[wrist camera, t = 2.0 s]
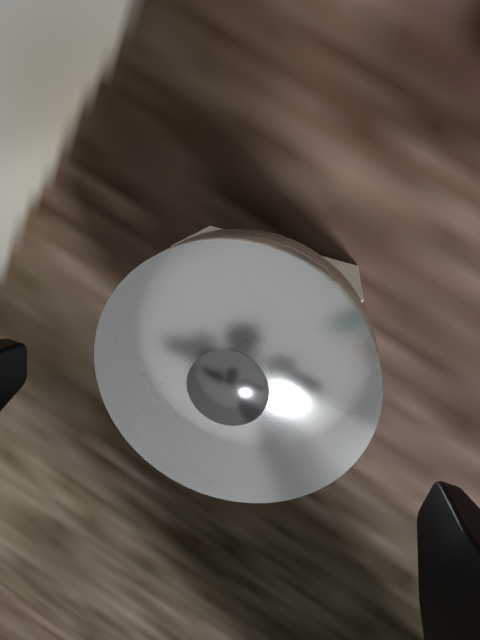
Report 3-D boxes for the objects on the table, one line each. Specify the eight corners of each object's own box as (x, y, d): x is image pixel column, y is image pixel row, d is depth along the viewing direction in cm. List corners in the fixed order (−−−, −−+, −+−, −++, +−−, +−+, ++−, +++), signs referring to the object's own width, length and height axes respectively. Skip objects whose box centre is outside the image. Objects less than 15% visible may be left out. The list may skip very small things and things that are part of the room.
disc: (328, 492, 12) (327, 541, 11) (113, 419, 13) (83, 454, 12) (421, 272, 9) (437, 295, 8) (139, 197, 10) (103, 203, 9)
